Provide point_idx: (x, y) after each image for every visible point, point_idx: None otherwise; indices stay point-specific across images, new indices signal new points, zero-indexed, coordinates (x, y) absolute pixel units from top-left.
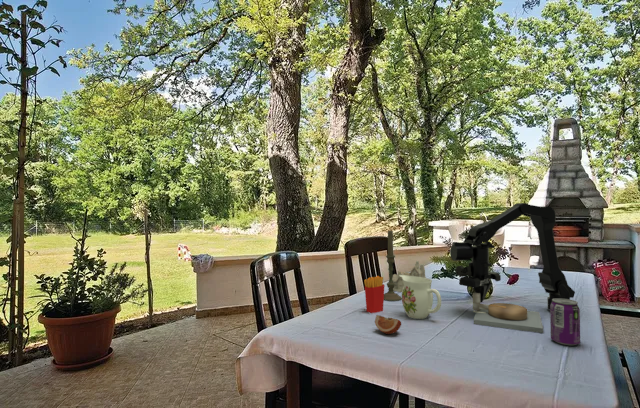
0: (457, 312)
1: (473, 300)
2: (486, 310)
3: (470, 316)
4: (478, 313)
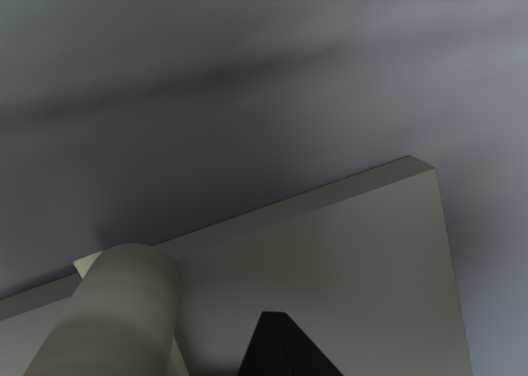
0: (74, 25)
1: (31, 363)
2: None
3: (53, 221)
4: None
